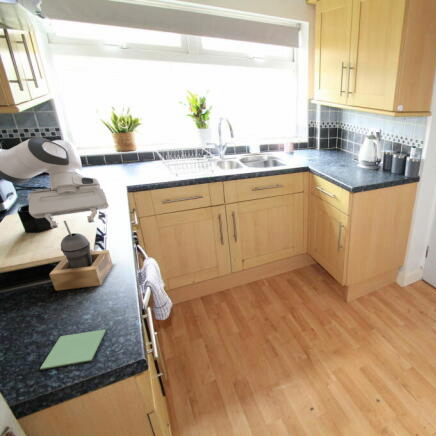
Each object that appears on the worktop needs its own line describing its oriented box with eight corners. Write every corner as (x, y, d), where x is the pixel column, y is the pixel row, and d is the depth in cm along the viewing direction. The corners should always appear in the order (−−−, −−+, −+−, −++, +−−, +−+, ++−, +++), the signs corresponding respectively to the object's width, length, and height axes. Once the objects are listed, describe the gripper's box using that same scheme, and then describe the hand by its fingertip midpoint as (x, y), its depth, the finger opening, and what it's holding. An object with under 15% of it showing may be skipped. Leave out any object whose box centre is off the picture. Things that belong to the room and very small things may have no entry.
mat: (40, 369, 71) (39, 368, 71) (60, 337, 80) (60, 336, 80) (91, 360, 74) (91, 359, 74) (106, 330, 83) (105, 329, 82)
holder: (55, 290, 97) (49, 274, 94) (72, 269, 107) (67, 254, 105) (100, 285, 100) (95, 269, 97) (112, 265, 110) (108, 250, 108)
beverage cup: (83, 285, 99) (63, 228, 91) (66, 280, 101) (45, 224, 93) (104, 273, 106) (88, 218, 97) (88, 269, 108) (71, 215, 99)
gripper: (22, 186, 97) (26, 227, 94) (102, 178, 107) (108, 215, 103) (31, 195, 103) (35, 234, 99) (106, 187, 112) (112, 222, 109)
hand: (73, 224), depth 101 cm, fingers open, 8 cm apart
